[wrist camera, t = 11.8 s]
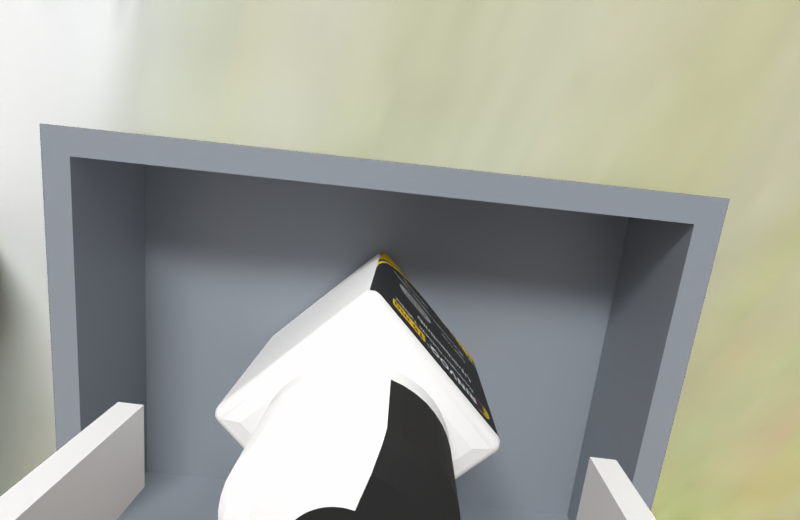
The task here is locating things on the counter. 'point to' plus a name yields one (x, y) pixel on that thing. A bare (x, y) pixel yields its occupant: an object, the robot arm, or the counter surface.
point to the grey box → (336, 260)
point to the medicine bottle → (357, 411)
